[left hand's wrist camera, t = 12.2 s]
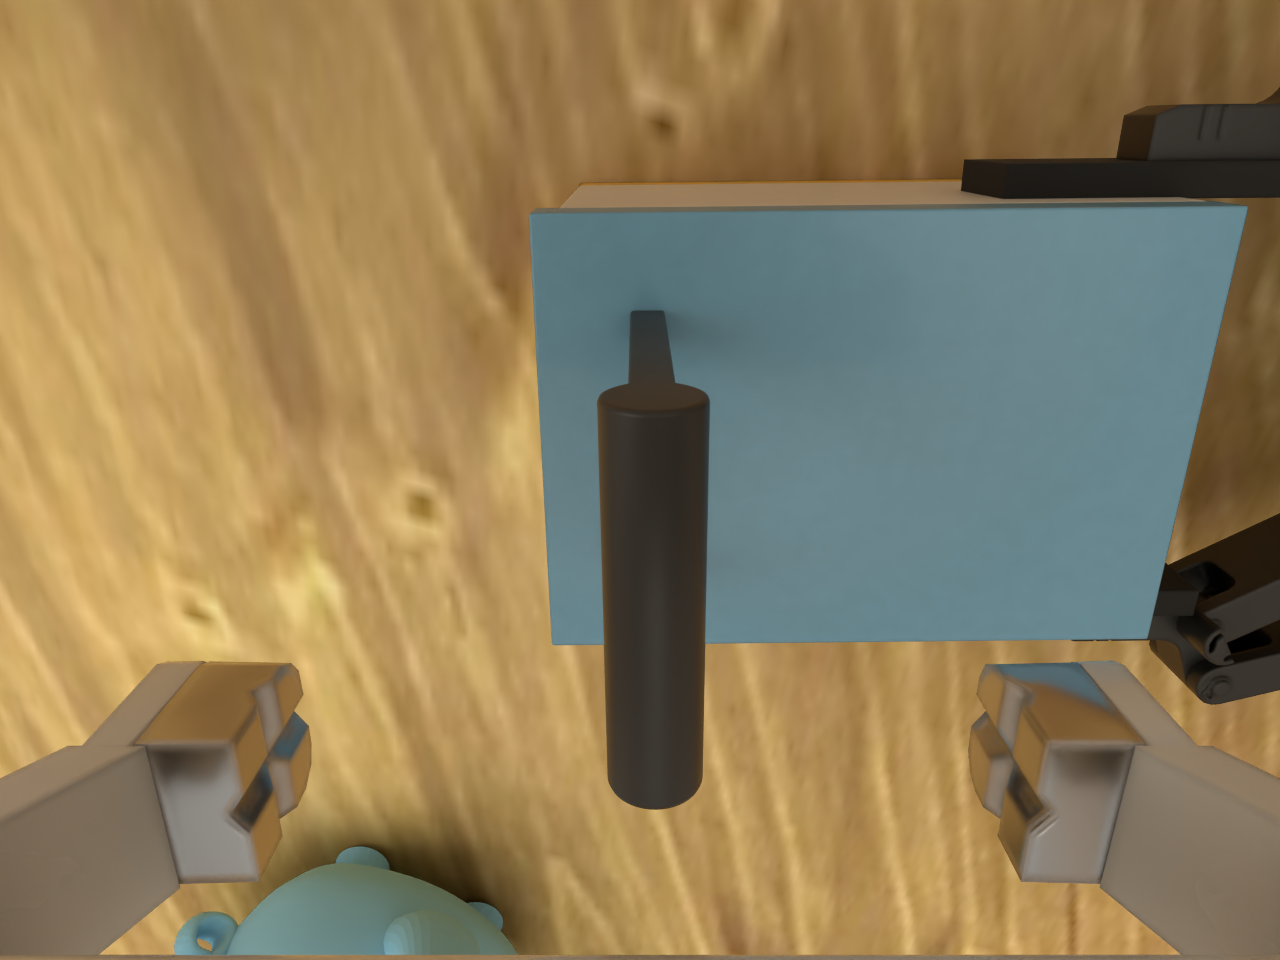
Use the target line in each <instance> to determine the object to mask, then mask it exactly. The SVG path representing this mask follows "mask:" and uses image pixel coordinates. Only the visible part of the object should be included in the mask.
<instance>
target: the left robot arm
mask: <svg viewBox="0 0 1280 960" xmlns="http://www.w3.org/2000/svg"><path fill="white" fill-rule="evenodd" d="M302 696H303V690H302V685H301V680H300V675H299V671H298V670H297V669H296V668H295V667H294V666H293V665H292V664H291V663H259V662H204V661H168V662H164V663H160V664H157V665H156V666H155V667H154V668H153V669H152V670H151V671H150V672H149V673H148V674H147V675H146V677H145V678H144V679H143V680H142V681H141V682H140V683H139V684H138V685H137V686H136V687H135V689H134V690H133V691H132V692H131V693H130V694H129V695H128V696H127V697H126V698H125V699H124V701H123V702H122V703H121V704H120V705H119V706H118V707H117V708H116V709H115V710H114V711H113V713H112V714H111V715H110V716H109V717H108V718H107V719H106V720H105V721H104V722H103V723H102V725H101V726H100V727H99V728H98V729H97V730H96V731H95V732H94V733H93V734H92V736H91V737H90V738H89V739H88V740H87V741H86V742H85V743H84V744H83V745H82V746H67V747H65V748H63V749H61V750H58V751H56V752H54V753H52V754H50V755H48V756H46V757H44V758H42V759H40V760H38V761H36V762H33V763H31V764H29V765H27V766H25V767H23V768H21V769H19V770H17V771H15V772H13V773H11V774H8V775H6V776H4V777H2V778H0V960H1280V778H1278V777H1276V776H1273V775H1271V774H1269V773H1267V772H1265V771H1263V770H1261V769H1259V768H1257V767H1255V766H1253V765H1251V764H1249V763H1246V762H1244V761H1242V760H1240V759H1238V758H1236V757H1234V756H1232V755H1230V754H1228V753H1226V752H1224V751H1222V750H1219V749H1217V748H1215V747H1213V746H1198V745H1197V744H1196V743H1195V742H1194V741H1193V740H1192V739H1191V738H1190V737H1189V736H1188V734H1187V733H1186V732H1185V731H1184V730H1183V729H1182V728H1181V727H1180V726H1179V725H1178V723H1177V722H1176V721H1175V720H1174V719H1173V718H1172V717H1171V716H1170V715H1169V714H1168V713H1167V711H1166V710H1165V709H1164V708H1163V707H1162V706H1161V705H1160V704H1159V703H1158V702H1157V701H1156V699H1155V698H1154V697H1153V696H1152V695H1151V694H1150V693H1149V692H1148V691H1147V690H1146V689H1145V687H1144V686H1143V685H1142V684H1141V683H1140V682H1139V681H1138V680H1137V679H1136V678H1135V676H1134V675H1133V674H1132V673H1131V672H1130V671H1129V670H1128V669H1127V668H1126V667H1125V666H1124V665H1122V664H1120V663H1118V662H1115V661H1090V662H1071V663H1033V664H986V665H985V667H984V669H983V671H982V673H981V675H980V678H979V684H978V689H977V696H978V698H979V699H980V701H981V703H982V705H983V706H984V708H985V710H986V712H985V713H984V714H983V715H982V716H981V717H980V718H979V719H978V720H977V721H976V722H975V723H974V724H973V725H972V726H971V732H970V740H969V748H968V753H969V765H970V774H971V778H972V781H973V785H974V788H975V791H976V793H977V796H978V798H979V800H980V802H981V804H982V806H983V807H984V808H985V809H987V810H988V811H990V812H991V813H993V814H994V815H995V816H997V817H998V818H1000V819H1001V820H1000V826H999V831H998V837H999V839H1000V841H1001V843H1002V845H1003V847H1004V849H1005V851H1006V853H1007V855H1008V857H1009V859H1010V861H1011V863H1012V865H1013V866H1014V868H1015V870H1016V872H1017V874H1018V876H1019V878H1020V880H1021V882H1052V883H1088V884H1100V888H1101V889H1102V890H1103V891H1105V892H1106V893H1107V894H1108V895H1110V896H1111V897H1112V898H1113V899H1114V900H1116V901H1117V902H1118V903H1119V904H1121V905H1122V906H1123V907H1124V908H1125V909H1127V910H1128V911H1129V912H1130V913H1132V914H1133V915H1134V916H1135V917H1136V918H1138V919H1139V920H1140V921H1141V922H1142V923H1144V924H1145V925H1146V926H1147V927H1149V928H1150V929H1151V930H1152V931H1153V932H1155V933H1156V934H1157V935H1158V936H1160V937H1161V938H1162V939H1163V940H1164V941H1166V942H1167V943H1168V944H1169V945H1171V946H1172V947H1173V948H1174V949H1175V950H1177V951H1178V952H1179V953H1180V954H1181V955H99V954H100V953H101V952H102V951H104V950H105V949H106V948H107V947H109V946H110V945H111V944H112V943H113V942H115V941H116V940H117V939H118V938H120V937H121V936H122V935H123V934H124V933H126V932H127V931H128V930H129V929H131V928H132V927H133V926H134V925H135V924H137V923H138V922H139V921H140V920H142V919H143V918H144V917H145V916H146V915H148V914H149V913H150V912H151V911H153V910H154V909H155V908H156V907H157V906H159V905H160V904H161V903H162V902H163V901H165V900H166V899H167V898H168V897H170V896H171V895H172V894H173V893H174V892H176V891H177V890H178V889H179V888H180V885H179V884H192V883H227V882H259V880H260V878H261V876H262V874H263V872H264V871H265V869H266V867H267V865H268V863H269V861H270V859H271V857H272V855H273V853H274V851H275V849H276V847H277V845H278V843H279V841H280V839H281V837H282V831H281V826H280V820H279V819H280V818H282V817H283V816H285V815H286V814H287V813H289V812H290V811H292V810H293V809H295V808H296V807H297V806H298V804H299V802H300V800H301V797H302V795H303V793H304V791H305V789H306V785H307V781H308V776H309V772H310V767H311V738H310V731H309V726H308V725H307V724H306V723H305V722H304V721H303V720H302V719H301V718H300V717H299V716H298V715H297V714H296V713H295V712H294V710H295V708H296V706H297V705H298V703H299V701H300V699H301V698H302Z"/></svg>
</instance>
